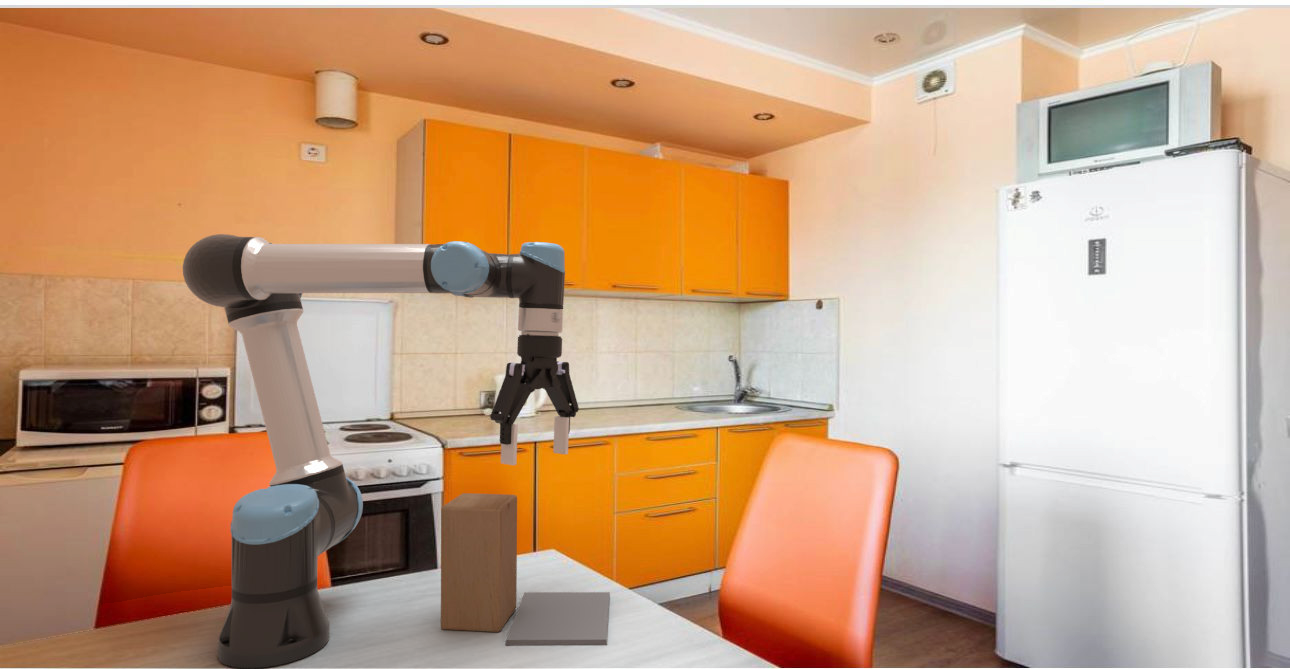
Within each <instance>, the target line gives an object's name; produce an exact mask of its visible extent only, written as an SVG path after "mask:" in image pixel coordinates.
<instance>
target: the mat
mask: <svg viewBox="0 0 1290 669" xmlns="http://www.w3.org/2000/svg"><path fill="white" fill-rule="evenodd" d="M610 596H611V595H610V592H609V591H608V592H607V591H605V592H604V591H597V592H595V591H590V592H589V591H588V592H587V591H585V592H584V591H581V592H580V591H579V592H576V591H575V592H574V591H573V592H569V591H568V592H565V591H563V592H559V591H558V592H557V591H556V592H554V591H553V592H551V591H549V592H548V591H547V592H541V591H540V592H536V591H535V592H533V591H532V592H523V595H522V597H521V600H520V603H519V605H518V608H517V609H516V610H517V611H516V613H515V616H514V618H513V621H512V624H511V625H510V628H509V631H508V634H507V636H506V638H505V646H585V645H586V646H591V645H592V646H594V645H595V646H597V645H598V646H604V645H606V646H607V642H608V627H609V611H610Z"/></svg>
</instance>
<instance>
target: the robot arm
mask: <svg viewBox="0 0 1290 669" xmlns="http://www.w3.org/2000/svg"><path fill="white" fill-rule="evenodd" d="M565 266H566V265H565V250H564V248H563V247H562V246H561V245H559V244H557V243H553V242H551V243H550V242H542V241H541V242H540V241H534V242H531V241H530V242H529V241H528V242H527V241H526V242H524V243H522V244H521V247H520V251H519V253H511V254H509V253H508V254H506V253H493V252H491V253H489V252H488V251H485V250H483V249H481V248H479V247H477V245H475V244H473V243H470V242H468V241H462V240H461V241H460V240H459V241H456V240H454V241H449V242H446V243H437V244H436V243H435V244H434V243H433V244H430V243H273V242H272V243H271V242H269V241H268V240H266V239H265V238H263V237H262V236H261V237H259V236H238V235H234V234H226V233H222V234H221V233H220V234H212V235H209V236H205V237H203V238H202V239H200V240H198V241H196V242H195V243H194V244H193V245H192V246H191V247H190V248H189V249H188V251H187V252H186V254H185V257H184V258H183V264H182V276H183V279H184V282H185V284H186V286H187V288H188V289H189V290H190V292H191V293H192V294H193V295H194V296H195V297H197V298H198V299H199V300H201V301H202V302H204V303H206V304H207V305H211V306H215V307H220V308H224V311H225V316H226V320H227V322H228V326H229V328H232V329H233V330H235V331H236V332H239V333H240V334H241V335H242V341H243V344H244V348H245V352H246V355H247V356H246V357H247V360H248V364H249V367H250V371H251V376H252V380H253V384H254V387H255V391H256V396H257V398H258V399H257V400H258V403H259V407H260V411H261V414H262V419H263V422H264V426H265V431H266V433H267V437H268V440H269V441H268V442H269V445H270V449H271V453H272V458H273V462H274V465H275V473H274V475H273V476H272V478H271V479H270V481H269V483H268V484H269V486H267V488H260V489H256V490H254V491H250V492H249V493H247V494H244V495H243V496H242V497H241V498H240V499H238V500H237V502H235V505H234V506H233V509H232V518H231V522H230V535H231V603H230V605H229V609H228V611H227V613H226V617H225V620H224V623H223V625H222V628H221V631H220V634H219V637H218V638H217V639H218V640H217V659H218V661H219V662H220V663H221V664H223V665H226V666H228V667H231V668H239V669H260V668H268V667H276V666H280V665H284V664H289V663H291V662H296V661H298V660H301V659H303V658H307V657H308V656H310V655H312V654H315V653H316V652H318V651H319V650H321V649H322V648H323V647H325V645H327V643H328V642H329V640H330V621H329V618H328V614H327V613H326V610H325V607H324V605H323V601H322V599H321V596H320V594H319V589H318V557H319V556H321V555H322V554H323V553H325V552H326V551H328V550H330V549H331V548H333V547H334V546H336V545H338V544H340V543H341V542H343V541H344V540H345V539H346V538H348V536H349V535H350V533H352V532H353V531H354V529H355V528H356V527H357V525H358V524H359V522H360V520H361V518H362V515H363V509H364V508H363V507H364V503H363V502H364V499H363V495H362V493H361V490H360V489H359V487H358V485H357V484H356V483H355V482H354V481H353V480H351V479H350V478H348V477H347V476H346V473H345V469H344V464H343V461H340V460H339V459H338V458H335V457H333V456H332V455H331V453H330V452H331V451H330V448H329V445H328V440H327V436H326V432H325V429H324V424H323V421H322V417H321V413H320V409H319V406H318V401H317V398H316V394H315V389H314V386H313V383H312V378H311V375H310V370H309V366H308V363H307V359H306V354H305V351H304V347H303V343H302V339H301V336H300V331H299V327H298V321H299V319H300V318H301V316H302V315H303V313H304V308H303V305H302V300H301V299H302V296H303V294H451V295H453V296H456V297H457V296H458V297H463V298H470V299H471V298H496V299H497V298H501V299H502V298H504V299H506V298H507V299H518V301H519V302H518V319H517V331H519V332H520V334H519V335H518V336H517V350H516V351H517V353H516V354H517V355H518V356H519V357H520V363H519V362H507V363H506V365H505V366H506V367H505V377H504V379H503V381H502V385H501V387H500V389H499V392H498V394H497V398H496V400H495V403H494V404H493V407H492V408H493V409H492V410H491V413H490V420H491V421H493V422H495V423H497V424H499V425H500V426H499V443H500V445H501V447H500V464H503V465H509V466H517V456H518V454H517V453H518V449H517V448H518V432H519V430H518V429H519V428H518V427H519V425H518V424H515V422H516V420H517V418H518V417H519V414H520V413H521V411H522V409H523V407H525V404H526V402H527V401H528V399H529V397H530V395H531V394H532V393H533V392H535V391H536V390H541V389H543V390H544V391H545V392H546V394H547V396H548V398H549V400H550V401H551V404H552V405H553V407H554V408H555V410H556V412H557V415H556V416H554V426H553V427H554V428H553V453H554V454H558V455H559V454H561V455H569V438H570V436H569V434H570V430H571V418H575V417H576V414H577V413H578V412H579V409H580V408H579V404H578V400H577V397H576V394H575V390H574V386H573V383H572V380H571V375H570V374H571V373H570V363H569V362H568V361H558V358H561V357H562V355H563V354H562V353H563V352H562V351H563V338H562V336H559V335H560V334H561V333H562V332H563V320H564V318H563V316H564V315H563V314H564V313H563V312H564V301H565V299H564V298H565V297H564V296H565V279H566V278H565V277H566V271H565V269H566V268H565Z"/></svg>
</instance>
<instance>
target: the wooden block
mask: <svg viewBox="0 0 1290 669" xmlns="http://www.w3.org/2000/svg"><path fill="white" fill-rule="evenodd" d="M440 509H441V511H440V512H441V518H440V522H441V523H440V525H441V528H440V529H441V530H440V531H441V532H440V540H441V541H440V543H441V544H440V629H441V630H453V631H469V632H470V631H473V632H475V631H476V632H492V633H493V632H494V633H499V632H501V631H502V629H503V627H504V626H505V625H506V623H507V622H508V621H509V619H511V616H512V615H513V613H514V612H515V611H516V610H517V594H518V593H517V586H518V585H517V582H518V580H517V578H518V577H517V576H518V575H517V574H518V572H517V571H518V570H517V568H518V566H517V565H518V563H517V562H518V558H517V557H518V555H517V554H518V553H517V552H518V548H517V547H518V497H517V495H515V494H501V493H500V494H498V493H496V494H495V493H466V492H465V493H464V492H463V493H461V494H460V495H458V496H456V497H455V498H453V499H452V500H450V501H449V502H447V503H446V504H443V505H442V506H441V508H440Z"/></svg>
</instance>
